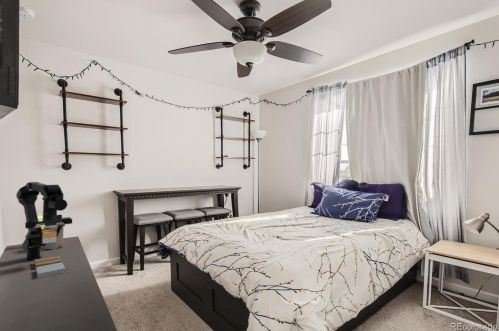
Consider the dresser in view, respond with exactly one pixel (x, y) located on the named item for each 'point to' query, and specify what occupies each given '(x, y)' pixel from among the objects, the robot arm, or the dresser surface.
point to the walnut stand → (47, 261)
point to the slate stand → (50, 270)
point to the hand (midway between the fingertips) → (48, 239)
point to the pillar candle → (58, 241)
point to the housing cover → (49, 233)
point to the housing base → (49, 240)
